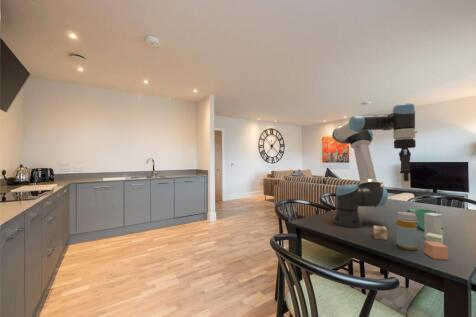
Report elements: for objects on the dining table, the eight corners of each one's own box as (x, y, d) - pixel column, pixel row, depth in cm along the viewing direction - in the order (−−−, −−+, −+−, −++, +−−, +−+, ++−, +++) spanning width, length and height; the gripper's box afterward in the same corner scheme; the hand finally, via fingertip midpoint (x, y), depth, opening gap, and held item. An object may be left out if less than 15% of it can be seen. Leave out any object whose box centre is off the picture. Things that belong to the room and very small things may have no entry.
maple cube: (374, 238, 103) (374, 228, 103) (373, 235, 107) (373, 225, 107) (387, 240, 100) (387, 229, 100) (385, 236, 105) (385, 226, 105)
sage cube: (425, 246, 93) (425, 235, 93) (428, 243, 96) (428, 232, 96) (441, 250, 89) (441, 238, 89) (443, 246, 92) (443, 235, 92)
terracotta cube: (433, 258, 82) (433, 246, 82) (424, 253, 87) (424, 241, 87) (448, 259, 81) (448, 247, 81) (438, 254, 86) (438, 241, 86)
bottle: (392, 244, 95) (392, 211, 95) (407, 243, 96) (406, 211, 96) (406, 251, 88) (405, 215, 88) (421, 250, 89) (420, 215, 89)
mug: (443, 231, 110) (443, 212, 110) (432, 234, 107) (432, 214, 107) (412, 223, 124) (412, 206, 124) (401, 225, 121) (401, 208, 121)
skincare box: (434, 241, 98) (433, 215, 98) (423, 237, 102) (423, 213, 102) (444, 239, 99) (443, 214, 99) (433, 236, 104) (433, 212, 104)
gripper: (418, 136, 80) (419, 191, 80) (413, 140, 100) (414, 184, 100) (393, 137, 85) (395, 189, 85) (393, 141, 105) (394, 183, 104)
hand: (405, 187), depth 92 cm, fingers open, 13 cm apart
